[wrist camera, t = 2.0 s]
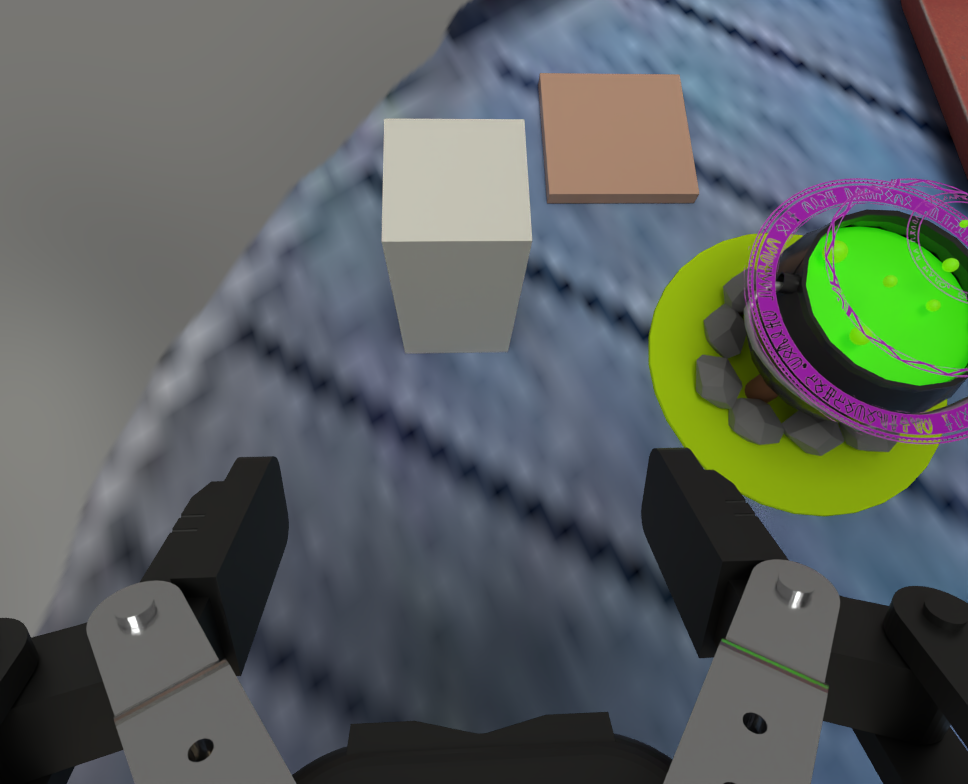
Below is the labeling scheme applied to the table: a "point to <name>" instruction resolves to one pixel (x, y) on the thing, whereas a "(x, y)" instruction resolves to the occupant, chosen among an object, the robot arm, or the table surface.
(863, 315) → the toy cauldron
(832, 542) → the table surface
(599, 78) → the coaster
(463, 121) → the plain off-white block
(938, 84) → the plant saucer
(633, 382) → the table surface
